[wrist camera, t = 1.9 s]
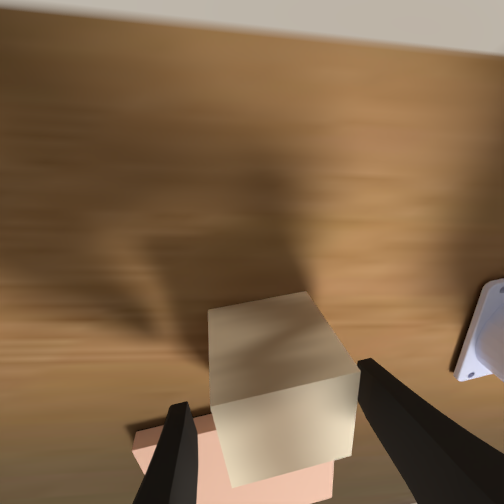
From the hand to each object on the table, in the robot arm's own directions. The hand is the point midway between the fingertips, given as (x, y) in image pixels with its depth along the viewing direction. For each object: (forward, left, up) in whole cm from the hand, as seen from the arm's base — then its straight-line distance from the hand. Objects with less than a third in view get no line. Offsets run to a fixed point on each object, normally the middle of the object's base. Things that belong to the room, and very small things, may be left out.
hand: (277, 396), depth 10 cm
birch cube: (0, 0, -4) cm, 4 cm away
